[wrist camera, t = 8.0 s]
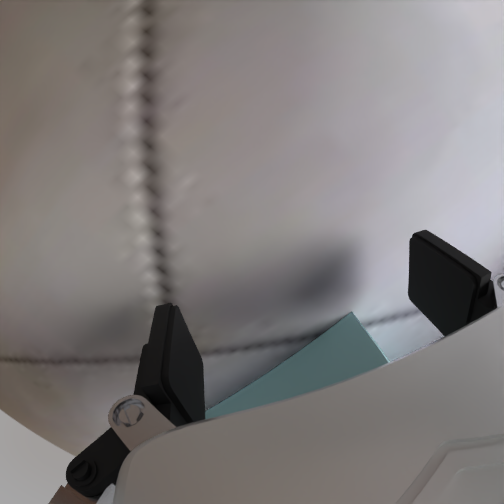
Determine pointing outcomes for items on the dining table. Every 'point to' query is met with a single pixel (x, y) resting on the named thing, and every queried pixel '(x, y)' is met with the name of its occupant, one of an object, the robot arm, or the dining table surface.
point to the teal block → (311, 368)
